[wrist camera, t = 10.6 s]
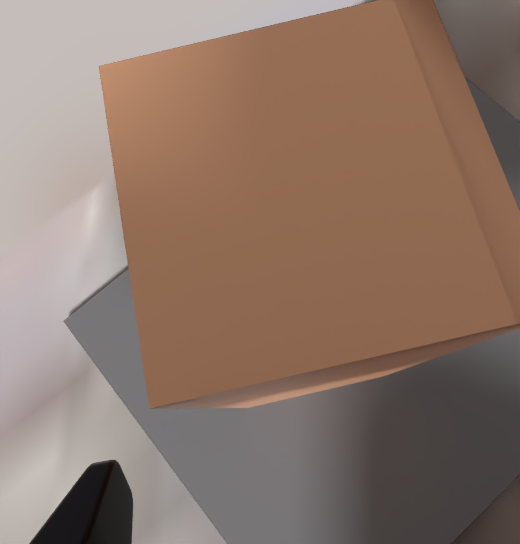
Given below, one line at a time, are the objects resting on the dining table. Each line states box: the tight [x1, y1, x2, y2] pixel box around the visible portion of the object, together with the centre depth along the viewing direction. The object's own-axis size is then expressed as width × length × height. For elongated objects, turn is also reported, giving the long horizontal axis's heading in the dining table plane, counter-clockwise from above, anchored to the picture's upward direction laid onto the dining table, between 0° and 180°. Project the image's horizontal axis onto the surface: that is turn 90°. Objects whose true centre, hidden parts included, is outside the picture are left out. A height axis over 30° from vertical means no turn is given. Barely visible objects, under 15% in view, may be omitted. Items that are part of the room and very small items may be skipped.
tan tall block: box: [99, 0, 520, 409], centre depth 14 cm, size 6×6×14 cm
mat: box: [64, 78, 520, 544], centre depth 21 cm, size 22×17×1 cm
